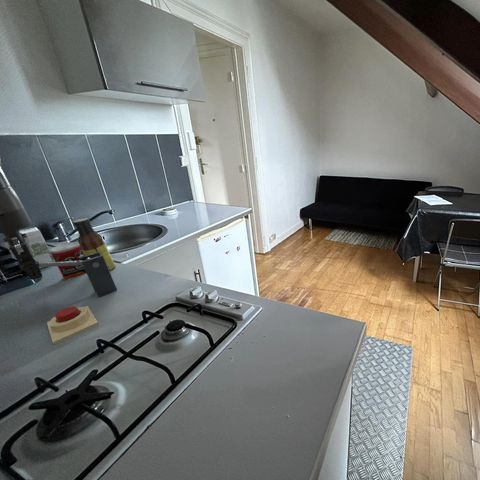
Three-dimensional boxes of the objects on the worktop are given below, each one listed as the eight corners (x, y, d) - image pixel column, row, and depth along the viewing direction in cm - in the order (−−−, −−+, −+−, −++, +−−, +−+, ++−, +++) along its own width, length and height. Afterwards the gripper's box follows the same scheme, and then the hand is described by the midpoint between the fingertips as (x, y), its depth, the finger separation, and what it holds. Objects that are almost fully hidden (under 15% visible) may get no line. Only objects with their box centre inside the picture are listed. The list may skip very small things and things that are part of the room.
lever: (20, 273, 62) (20, 260, 62) (19, 270, 64) (19, 257, 64) (100, 268, 74) (101, 257, 73) (98, 265, 76) (98, 255, 75)
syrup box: (53, 260, 104) (35, 226, 98) (56, 264, 100) (39, 229, 95) (33, 266, 99) (13, 231, 94) (36, 270, 96) (16, 234, 91)
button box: (50, 329, 65) (43, 316, 63) (90, 312, 70) (84, 299, 69) (57, 349, 58) (48, 335, 56) (101, 329, 63) (94, 316, 62)
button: (56, 318, 62) (53, 312, 62) (78, 310, 65) (75, 304, 65) (59, 325, 60) (56, 319, 59) (81, 316, 63) (78, 310, 62)
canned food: (63, 283, 86) (48, 253, 81) (64, 275, 91) (50, 246, 87) (93, 274, 90) (80, 246, 86) (92, 267, 96) (80, 239, 92)
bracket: (88, 310, 71) (67, 269, 66) (81, 298, 77) (62, 260, 72) (133, 291, 79) (118, 253, 74) (124, 282, 84) (110, 246, 79)
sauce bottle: (115, 267, 95) (94, 215, 87) (118, 272, 91) (96, 218, 83) (93, 274, 91) (68, 220, 83) (95, 280, 87) (69, 223, 79)
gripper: (-26, 209, 60) (13, 274, 67) (-29, 218, 52) (15, 292, 58) (21, 202, 66) (52, 262, 72) (24, 209, 57) (60, 277, 64)
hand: (35, 275), depth 65 cm, fingers closed on lever, 3 cm apart
